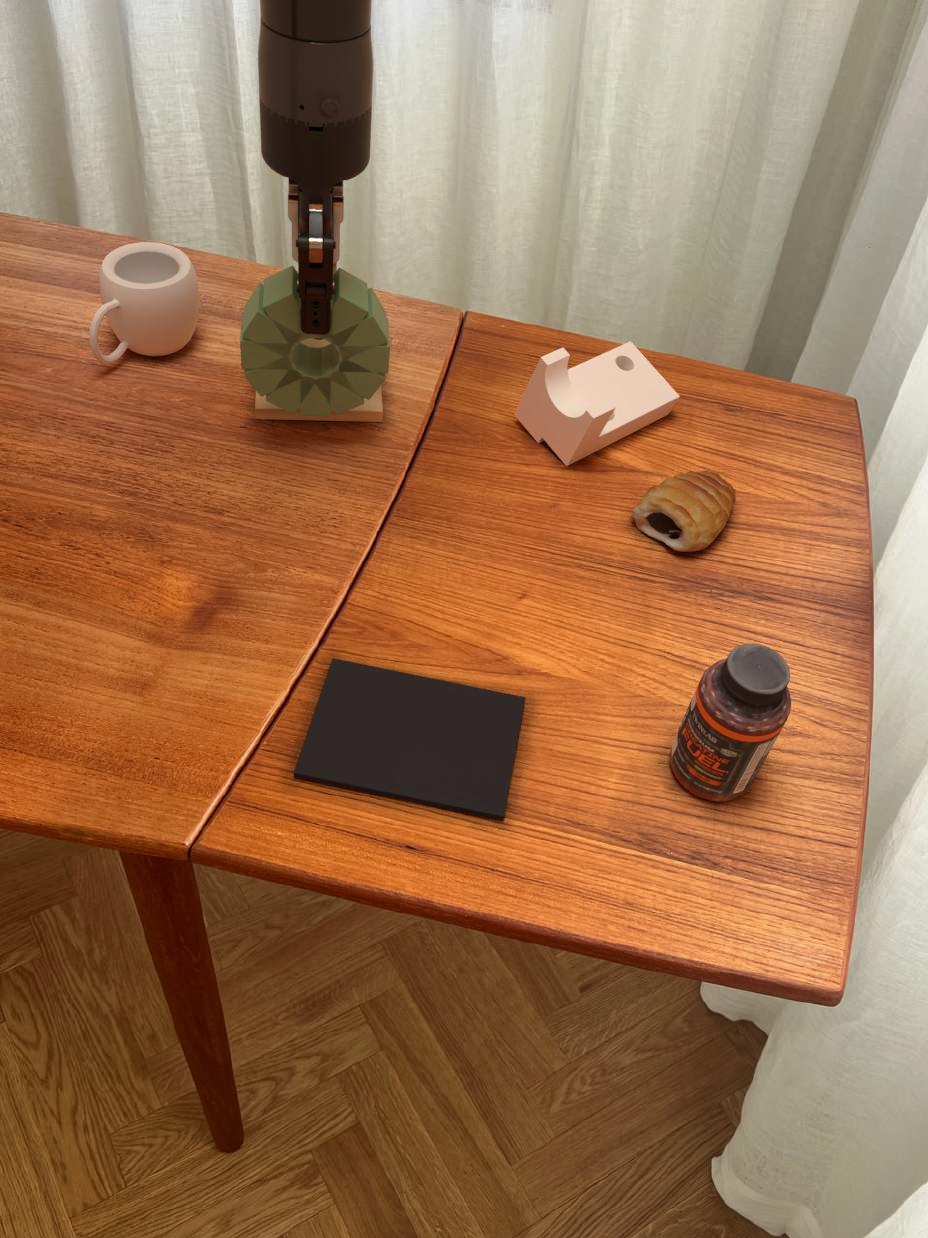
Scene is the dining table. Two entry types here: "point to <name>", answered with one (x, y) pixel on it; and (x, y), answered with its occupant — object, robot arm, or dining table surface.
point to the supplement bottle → (732, 723)
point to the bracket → (592, 400)
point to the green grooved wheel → (307, 371)
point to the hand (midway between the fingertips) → (315, 313)
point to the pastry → (686, 510)
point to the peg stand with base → (363, 413)
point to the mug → (146, 300)
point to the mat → (413, 739)
